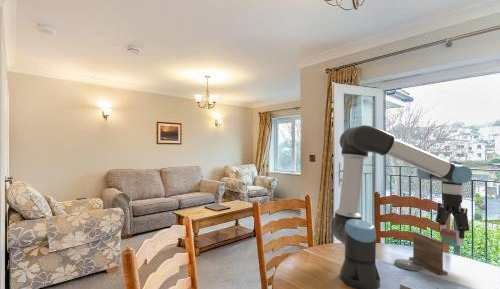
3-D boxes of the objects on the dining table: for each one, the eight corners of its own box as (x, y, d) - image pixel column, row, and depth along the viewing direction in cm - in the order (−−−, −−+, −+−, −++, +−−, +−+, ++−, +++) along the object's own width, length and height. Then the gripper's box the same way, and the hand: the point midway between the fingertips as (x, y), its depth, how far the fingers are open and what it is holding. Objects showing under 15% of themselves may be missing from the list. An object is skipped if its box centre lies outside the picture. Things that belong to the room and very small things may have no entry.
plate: (404, 271, 116) (405, 268, 116) (389, 261, 127) (389, 258, 127) (427, 270, 117) (427, 268, 117) (410, 260, 128) (410, 258, 128)
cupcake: (466, 249, 117) (467, 222, 117) (445, 246, 118) (445, 220, 119) (455, 242, 125) (456, 217, 126) (435, 240, 127) (436, 215, 127)
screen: (436, 274, 113) (436, 242, 114) (409, 259, 130) (409, 231, 131) (447, 274, 114) (447, 242, 114) (418, 259, 131) (418, 231, 131)
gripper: (481, 197, 112) (480, 250, 112) (440, 190, 133) (439, 235, 132) (465, 196, 112) (464, 250, 111) (427, 189, 133) (426, 234, 132)
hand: (451, 241), depth 122 cm, fingers closed on cupcake, 8 cm apart
